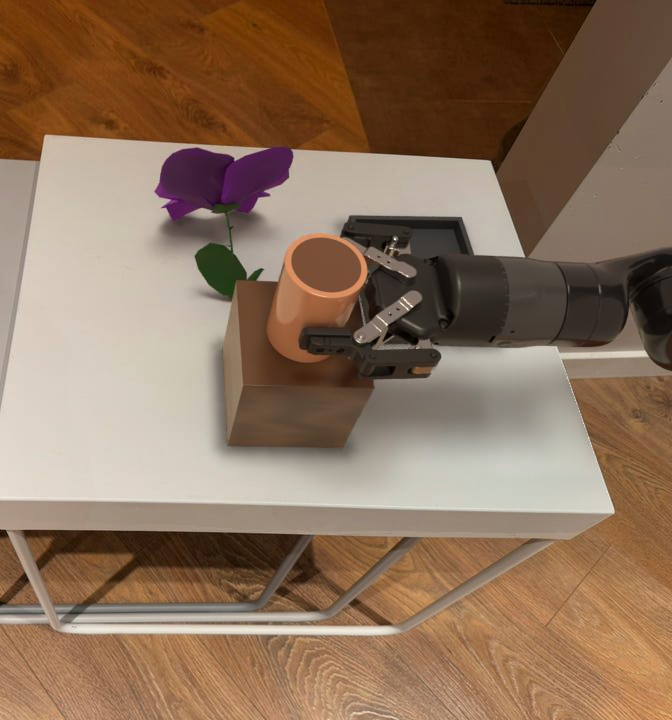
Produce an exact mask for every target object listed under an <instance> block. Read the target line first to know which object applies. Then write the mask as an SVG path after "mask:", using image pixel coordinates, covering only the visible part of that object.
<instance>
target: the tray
mask: <svg viewBox="0 0 672 720" xmlns="http://www.w3.org/2000/svg"><path fill="white" fill-rule="evenodd" d="M346 222H360V223H371V224H382V225H394V226H405V227H409V228H411V229H412V230H413V236H412V238H411V240H410V242H409V243H410V250H411V254H412V255H414V256H417V257H419V258H423V259H429V258H432V257H436V256H438V255H441V254H463V255H475V251H474V249H473V247H472V243H471V240H470V237H469V234H468V231H467V228H466V225H465V222H464V219H463V217H462V216H435V215H434V216H433V215H432V216H430V215H429V216H427V215H425V216H424V215H367V214H366V215H365V214H364V215H357V214H349V215H348V219H347V221H346ZM355 238H359V239H365V238H367V237H357V236H355ZM391 257H392V256H391ZM392 258H393V259H394V257H392ZM377 268H378V267H376V266H375V265H373V264H371V266H370V268H369V271H370V273H372V272H373V271H374V270H376V269H377ZM364 289H365V287H363V288H362V290H361V293H360V295H359V298H360V303H361V307H362V310H363V315H364V316H363V317H364V320H365V325H366V324H367V323H369V322H370V321H371V320H369V315H368V310H369V304H368V302H367V300H366V298H365V292H364ZM384 344H385V345H390V344H391V345H396V344H397V345H402V344H403V345H409V344H408V343H406V342H404V341H402V340H401V339H399V338H397V337H393V338H392V339H390V340H389V341H387V342H386V343H384ZM384 344H383V345H384ZM431 344H432V345H434V344H433V343H431Z"/></svg>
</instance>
